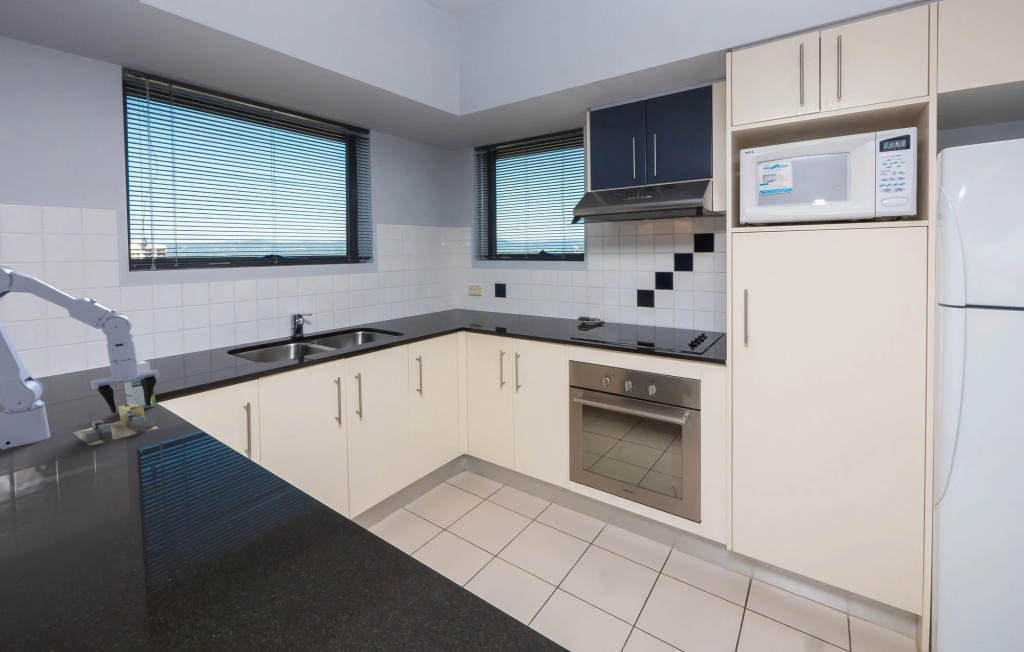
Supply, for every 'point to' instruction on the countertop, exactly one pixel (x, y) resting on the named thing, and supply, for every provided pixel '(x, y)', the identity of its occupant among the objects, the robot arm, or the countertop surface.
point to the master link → (130, 410)
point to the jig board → (113, 432)
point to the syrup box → (138, 388)
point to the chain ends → (105, 432)
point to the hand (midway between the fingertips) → (131, 408)
